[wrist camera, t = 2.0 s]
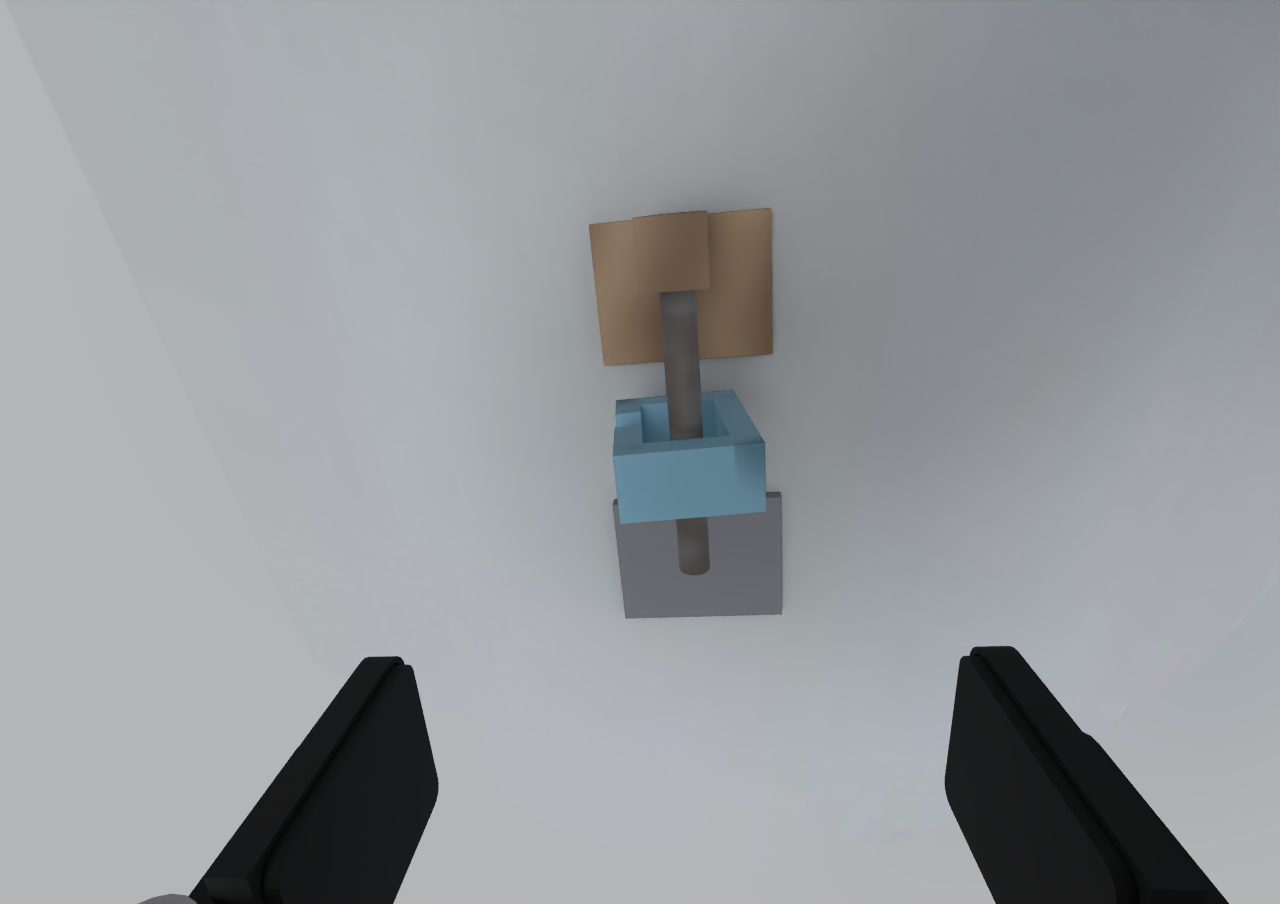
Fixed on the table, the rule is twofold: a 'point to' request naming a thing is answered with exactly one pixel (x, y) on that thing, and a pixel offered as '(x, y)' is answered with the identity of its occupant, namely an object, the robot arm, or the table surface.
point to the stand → (684, 311)
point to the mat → (730, 587)
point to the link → (687, 462)
